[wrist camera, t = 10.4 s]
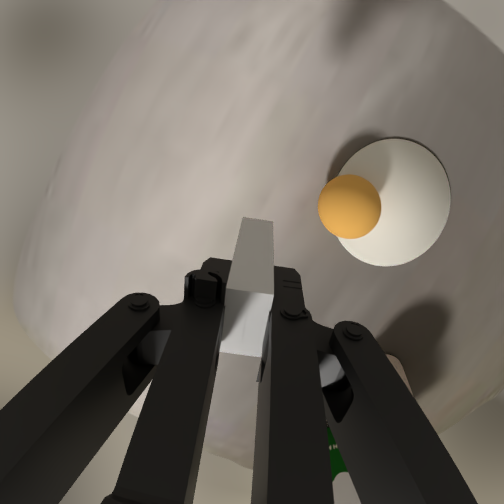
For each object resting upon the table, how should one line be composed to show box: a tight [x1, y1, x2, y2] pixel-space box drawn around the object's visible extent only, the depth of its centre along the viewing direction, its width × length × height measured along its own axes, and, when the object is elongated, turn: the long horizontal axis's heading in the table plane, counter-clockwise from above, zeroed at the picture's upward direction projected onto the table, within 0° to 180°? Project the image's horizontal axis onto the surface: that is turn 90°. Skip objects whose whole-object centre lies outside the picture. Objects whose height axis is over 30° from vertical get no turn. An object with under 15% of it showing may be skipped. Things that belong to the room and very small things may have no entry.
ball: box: [318, 174, 381, 239], centre depth 27 cm, size 6×6×6 cm
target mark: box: [337, 139, 451, 266], centre depth 29 cm, size 13×13×1 cm
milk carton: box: [327, 427, 361, 504], centre depth 37 cm, size 9×9×20 cm
